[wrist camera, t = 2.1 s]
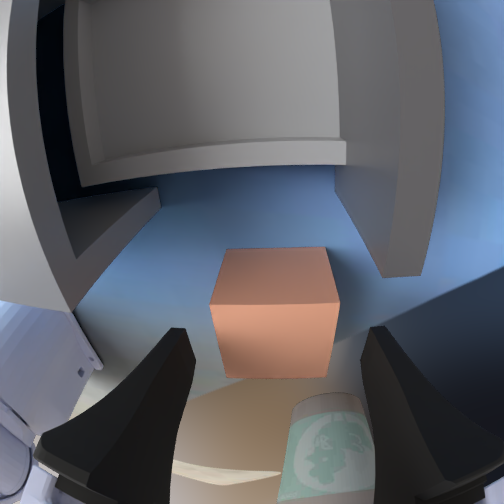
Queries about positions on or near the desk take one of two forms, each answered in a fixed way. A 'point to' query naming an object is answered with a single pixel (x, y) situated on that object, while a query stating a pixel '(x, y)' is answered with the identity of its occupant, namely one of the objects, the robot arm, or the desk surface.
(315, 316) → the terracotta block
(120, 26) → the tray
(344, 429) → the coffee cup
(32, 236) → the player housing
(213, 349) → the desk surface
